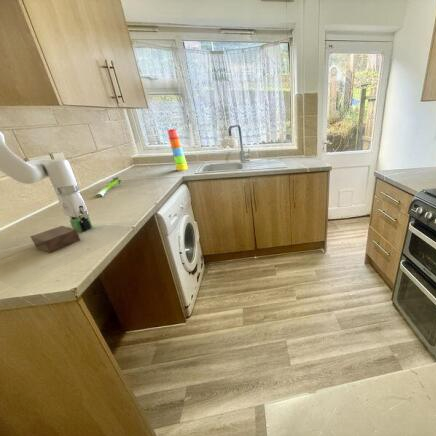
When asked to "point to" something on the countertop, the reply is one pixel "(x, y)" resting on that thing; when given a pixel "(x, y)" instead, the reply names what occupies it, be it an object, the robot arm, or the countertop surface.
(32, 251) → the countertop surface
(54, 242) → the walnut block
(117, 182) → the leek
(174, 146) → the stacking cups
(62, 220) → the countertop surface
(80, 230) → the toy block
